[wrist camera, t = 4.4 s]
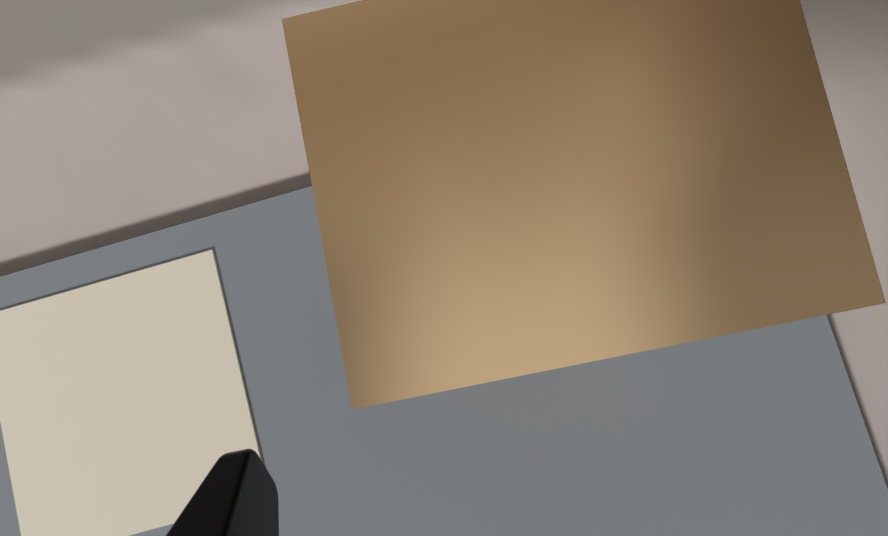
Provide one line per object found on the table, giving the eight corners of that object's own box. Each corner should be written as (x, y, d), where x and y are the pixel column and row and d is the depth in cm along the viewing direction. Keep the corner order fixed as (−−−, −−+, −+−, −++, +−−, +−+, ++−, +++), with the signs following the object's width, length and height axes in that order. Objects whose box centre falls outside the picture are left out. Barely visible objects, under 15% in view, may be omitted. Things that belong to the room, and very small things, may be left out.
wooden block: (629, 330, 18) (885, 303, 6) (446, 367, 18) (352, 410, 6) (595, 187, 19) (772, -96, 7) (418, 225, 19) (281, 18, 7)
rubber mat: (731, 68, 19) (739, 59, 19) (893, 531, 17) (907, 538, 17) (-119, 316, 20) (-137, 315, 20) (-44, 772, 19) (-63, 786, 18)
